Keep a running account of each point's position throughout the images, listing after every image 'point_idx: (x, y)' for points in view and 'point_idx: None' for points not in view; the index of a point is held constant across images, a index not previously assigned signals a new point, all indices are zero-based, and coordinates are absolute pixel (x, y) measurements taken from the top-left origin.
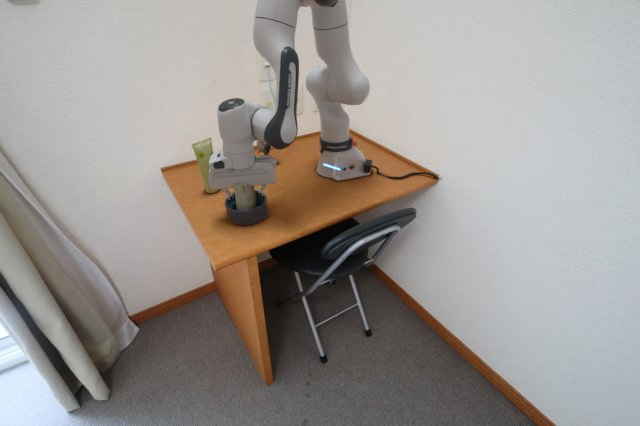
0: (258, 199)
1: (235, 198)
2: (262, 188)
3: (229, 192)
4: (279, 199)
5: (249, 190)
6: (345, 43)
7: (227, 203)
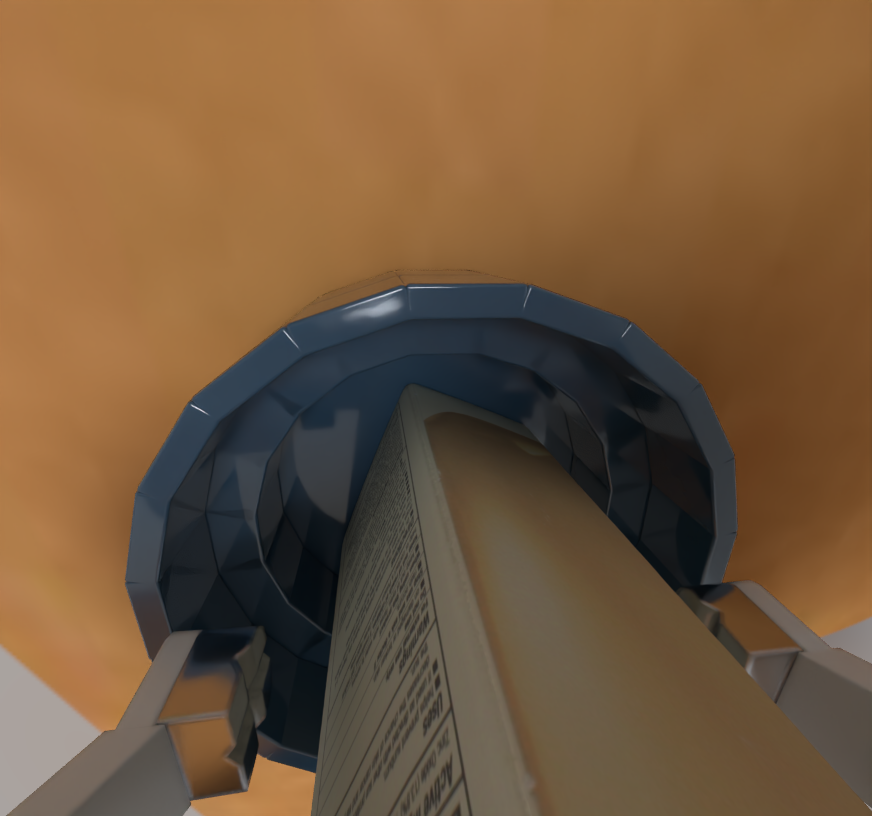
0: (592, 392)
1: (317, 784)
2: (866, 777)
3: (155, 769)
4: (777, 244)
5: None
6: None
7: (183, 547)
